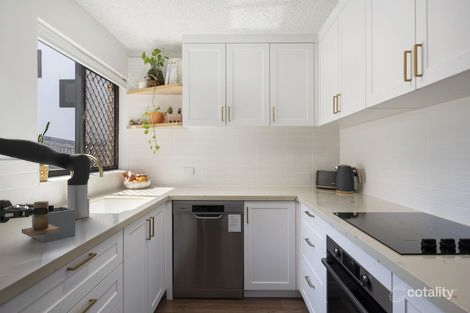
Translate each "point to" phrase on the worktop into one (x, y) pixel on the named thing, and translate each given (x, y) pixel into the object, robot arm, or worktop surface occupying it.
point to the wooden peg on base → (40, 223)
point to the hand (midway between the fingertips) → (50, 209)
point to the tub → (59, 224)
